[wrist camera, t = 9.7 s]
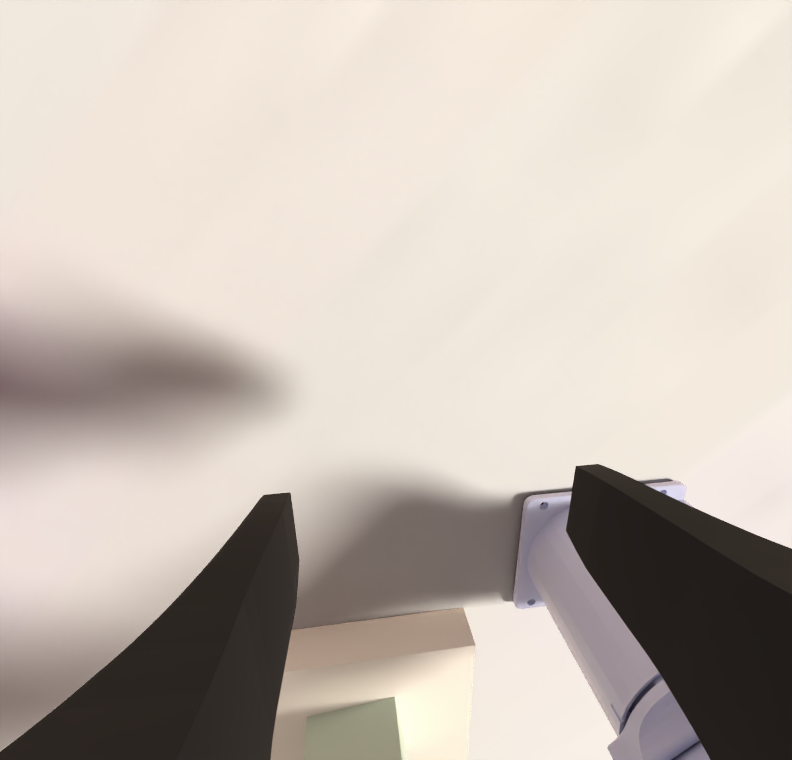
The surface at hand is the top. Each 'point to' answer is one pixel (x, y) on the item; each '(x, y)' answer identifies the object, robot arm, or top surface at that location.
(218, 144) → the top surface
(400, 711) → the cream block
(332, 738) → the sage cube
